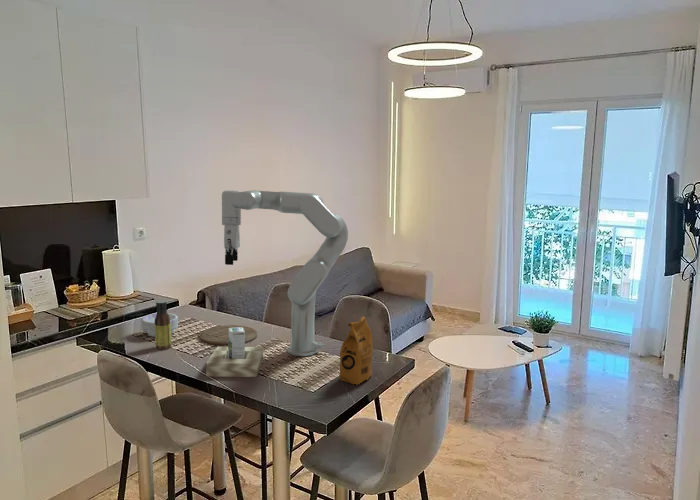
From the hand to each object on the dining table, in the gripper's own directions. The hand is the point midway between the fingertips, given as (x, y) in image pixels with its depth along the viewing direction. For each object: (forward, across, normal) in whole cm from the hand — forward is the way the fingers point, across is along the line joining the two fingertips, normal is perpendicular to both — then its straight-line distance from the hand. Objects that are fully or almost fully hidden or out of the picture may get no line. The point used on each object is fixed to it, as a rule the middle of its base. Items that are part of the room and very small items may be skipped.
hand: (231, 262), depth 214 cm
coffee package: (+36, -32, -51) cm, 70 cm away
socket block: (+36, -23, -6) cm, 43 cm away
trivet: (+37, +14, +4) cm, 40 cm away
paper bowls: (+37, +16, +35) cm, 53 cm away
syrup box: (+36, -23, -6) cm, 43 cm away
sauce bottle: (+37, -2, +28) cm, 46 cm away
